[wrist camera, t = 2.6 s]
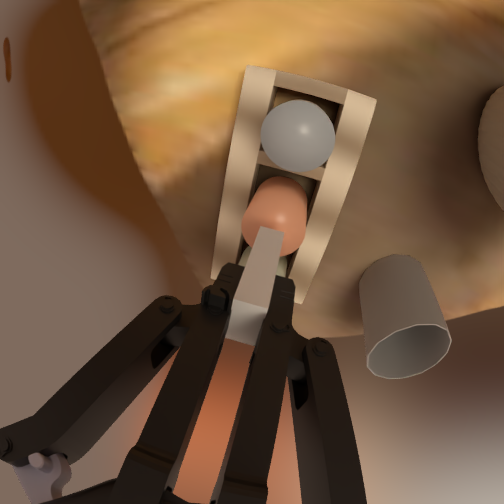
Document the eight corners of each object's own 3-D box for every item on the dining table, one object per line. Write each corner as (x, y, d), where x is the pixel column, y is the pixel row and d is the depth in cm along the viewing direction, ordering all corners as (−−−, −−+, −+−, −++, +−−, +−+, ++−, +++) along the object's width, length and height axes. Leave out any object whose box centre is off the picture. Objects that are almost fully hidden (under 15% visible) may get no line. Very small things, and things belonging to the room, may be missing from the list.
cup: (434, 256, 25) (465, 322, 17) (414, 310, 30) (430, 376, 22) (364, 252, 27) (379, 324, 19) (352, 309, 31) (357, 379, 23)
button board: (254, 67, 19) (246, 64, 17) (369, 98, 19) (377, 99, 16) (218, 262, 31) (210, 278, 29) (303, 286, 31) (301, 304, 28)
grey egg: (278, 93, 18) (269, 93, 14) (336, 108, 18) (343, 113, 14) (266, 146, 20) (254, 161, 16) (321, 161, 20) (323, 180, 16)
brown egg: (260, 170, 22) (247, 191, 17) (313, 184, 21) (313, 210, 17) (250, 216, 24) (236, 247, 20) (299, 230, 24) (295, 263, 20)
